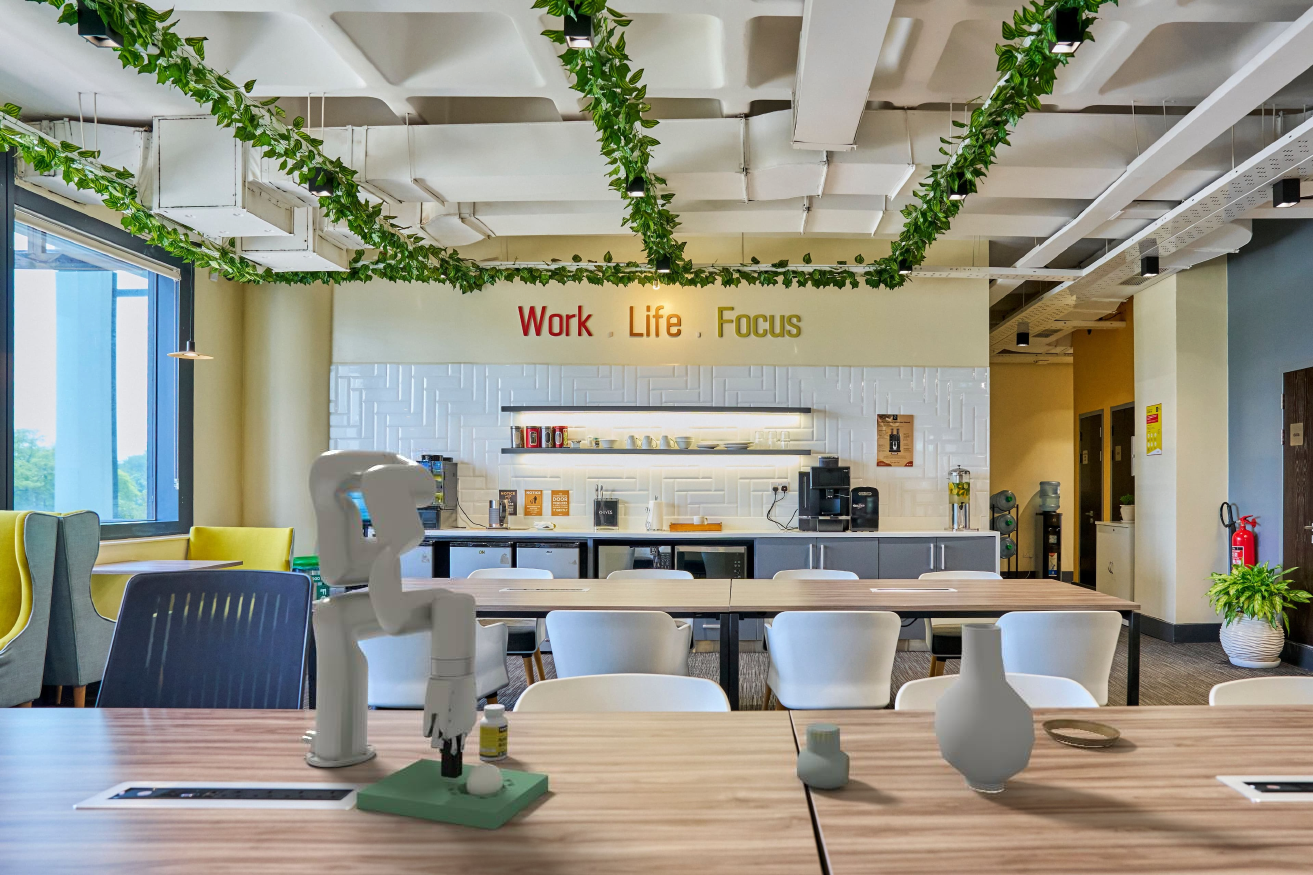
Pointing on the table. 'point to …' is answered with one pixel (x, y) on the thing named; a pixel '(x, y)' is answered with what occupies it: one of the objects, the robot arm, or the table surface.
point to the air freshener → (823, 758)
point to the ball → (484, 780)
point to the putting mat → (451, 795)
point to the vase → (984, 715)
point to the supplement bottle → (493, 733)
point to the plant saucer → (1082, 725)
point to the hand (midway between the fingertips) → (451, 775)
